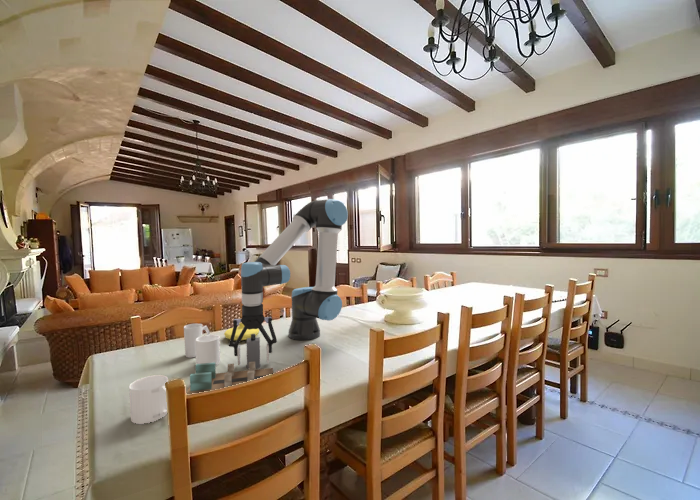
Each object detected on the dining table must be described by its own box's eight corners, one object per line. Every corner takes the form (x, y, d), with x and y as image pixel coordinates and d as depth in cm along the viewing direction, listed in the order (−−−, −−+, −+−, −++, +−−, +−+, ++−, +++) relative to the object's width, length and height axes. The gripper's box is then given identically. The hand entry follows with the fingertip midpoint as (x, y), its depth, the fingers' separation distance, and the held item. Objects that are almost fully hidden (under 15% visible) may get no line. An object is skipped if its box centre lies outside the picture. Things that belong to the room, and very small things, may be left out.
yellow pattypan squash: (257, 331, 164) (257, 317, 163) (260, 341, 149) (260, 326, 149) (224, 334, 158) (223, 320, 158) (224, 345, 144) (223, 330, 143)
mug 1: (123, 418, 88) (122, 385, 88) (157, 403, 96) (156, 372, 96) (149, 432, 82) (147, 396, 82) (182, 414, 90) (181, 381, 90)
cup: (204, 370, 118) (203, 343, 117) (187, 362, 125) (186, 336, 125) (224, 363, 125) (223, 337, 124) (207, 356, 132) (206, 331, 131)
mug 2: (189, 359, 128) (187, 329, 128) (181, 355, 133) (180, 326, 132) (213, 352, 136) (212, 323, 135) (206, 348, 140) (205, 320, 140)
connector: (260, 362, 125) (259, 332, 124) (259, 367, 121) (259, 335, 120) (247, 363, 124) (247, 333, 123) (247, 368, 120) (246, 336, 119)
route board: (273, 370, 118) (272, 354, 118) (273, 388, 105) (272, 370, 104) (195, 378, 112) (194, 361, 112) (184, 398, 99) (184, 379, 98)
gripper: (282, 300, 127) (283, 356, 129) (221, 303, 122) (223, 361, 123) (283, 304, 120) (284, 363, 121) (218, 308, 115) (220, 369, 116)
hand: (253, 362), depth 122 cm, fingers open, 10 cm apart
